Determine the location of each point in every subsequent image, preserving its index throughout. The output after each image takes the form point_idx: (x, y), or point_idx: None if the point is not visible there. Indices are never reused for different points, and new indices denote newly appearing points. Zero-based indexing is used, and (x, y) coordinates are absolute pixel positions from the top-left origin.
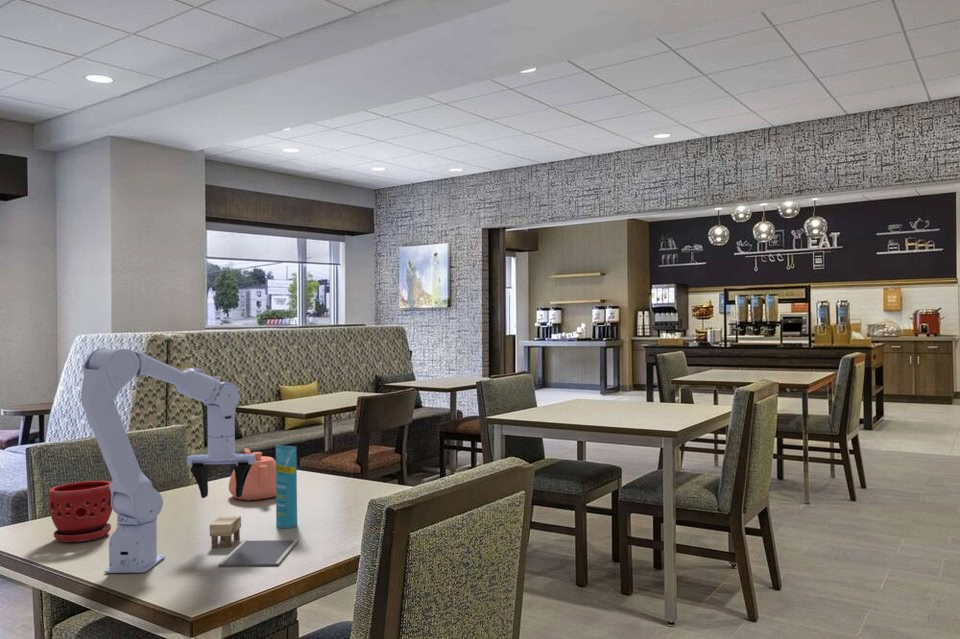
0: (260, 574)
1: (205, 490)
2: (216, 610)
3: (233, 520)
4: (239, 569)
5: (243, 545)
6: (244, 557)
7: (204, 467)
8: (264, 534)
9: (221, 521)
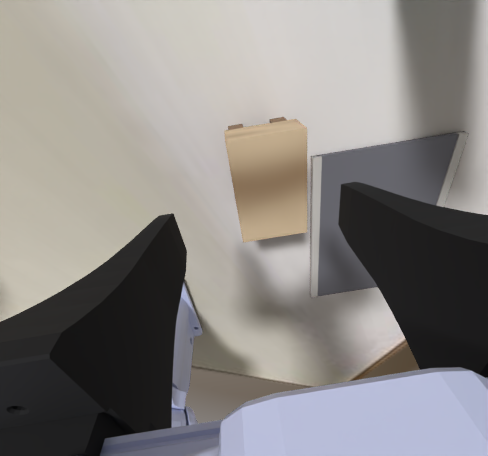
0: (388, 307)
1: (175, 257)
2: None
3: (300, 191)
4: (350, 297)
5: (323, 196)
6: (348, 263)
7: (139, 408)
8: (352, 54)
9: (263, 207)
